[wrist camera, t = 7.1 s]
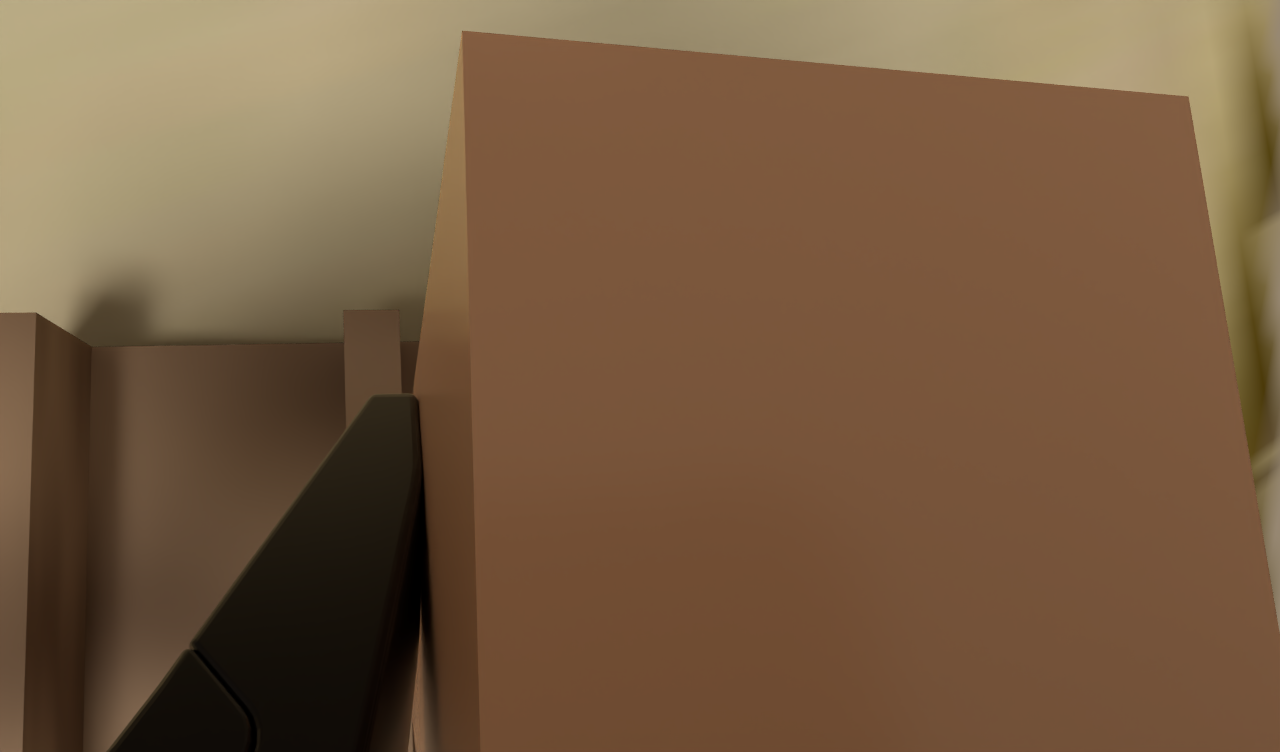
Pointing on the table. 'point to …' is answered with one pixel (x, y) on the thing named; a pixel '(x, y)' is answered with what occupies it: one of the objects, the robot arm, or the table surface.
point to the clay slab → (828, 417)
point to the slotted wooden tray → (149, 501)
